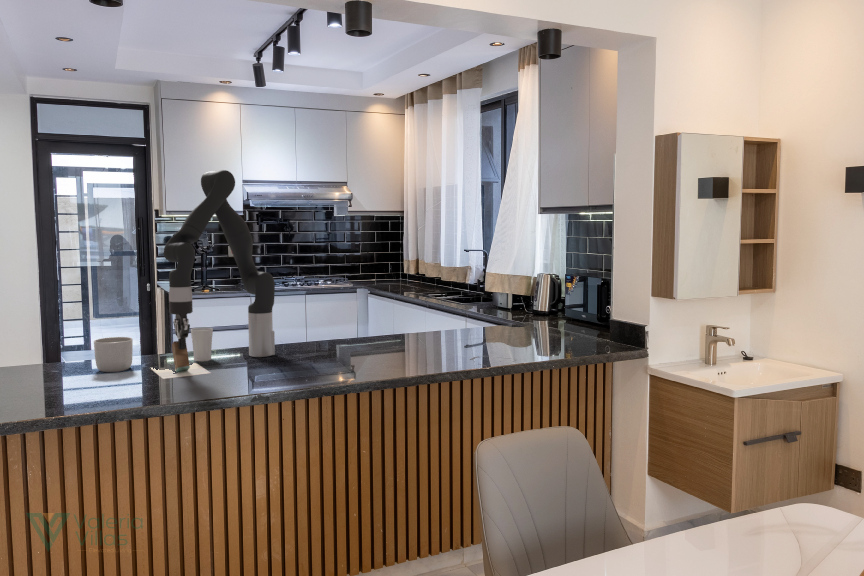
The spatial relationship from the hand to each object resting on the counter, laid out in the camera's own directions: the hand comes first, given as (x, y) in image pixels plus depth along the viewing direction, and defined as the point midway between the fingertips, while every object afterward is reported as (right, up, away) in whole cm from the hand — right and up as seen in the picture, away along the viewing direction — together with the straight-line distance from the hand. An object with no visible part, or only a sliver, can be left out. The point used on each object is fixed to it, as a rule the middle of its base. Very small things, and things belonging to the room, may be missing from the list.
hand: (182, 349), depth 232 cm
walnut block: (0, -7, 0) cm, 7 cm away
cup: (-1, -7, +23) cm, 24 cm away
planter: (-26, -8, +4) cm, 27 cm away
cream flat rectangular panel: (-2, -8, +4) cm, 9 cm away
